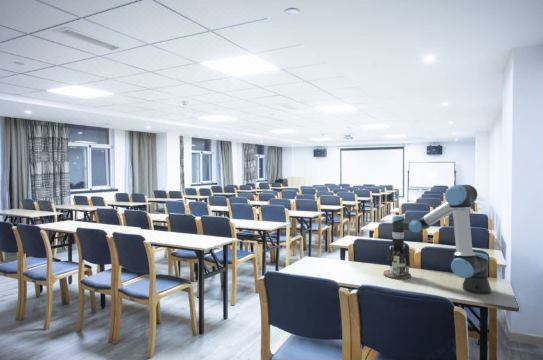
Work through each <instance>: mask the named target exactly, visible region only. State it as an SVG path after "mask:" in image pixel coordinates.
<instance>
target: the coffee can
mask: <svg viewBox="0 0 543 360" xmlns="http://www.w3.org/2000/svg"><path fill="white" fill-rule="evenodd" d="M392 255H394V259H393V262H394V263H393V271H390V273H391V274H394V275H397V267H400V275H405V274H406V273H405V272H406V268H405V255H406V253H400V252H399V251H398V252H397V253H396V254H393V253H392Z"/></svg>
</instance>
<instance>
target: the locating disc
mask: <svg viewBox="0 0 543 360" xmlns="http://www.w3.org/2000/svg"><path fill="white" fill-rule="evenodd" d="M405 273H406V274H405V275H400V267H397V275H394V274H391V273H390V269H387V270H384V271H383V273H382V274H383V276H384V277H386V278H389V279H393V280H400V281H401V280H402V281H403V280H408V279H409V280H410V279H411V277H412V274H411V273H410V266H409V265H406V268H405Z"/></svg>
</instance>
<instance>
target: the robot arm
mask: <svg viewBox="0 0 543 360" xmlns="http://www.w3.org/2000/svg"><path fill="white" fill-rule="evenodd" d="M478 196H479V195H478V190H477V189H476V187H474V186H473V185H470V184H455V185H452V186H451V185H450V187H448V188H447V189H446V190H445V193H444V198H445V202H444V203H442V204H440V205H438V206H437V207H436V208H434V209H432V210H431V211H429V212H428V213H426V214H425V215H424V216H422V217H420V218H417V219H405V217H404V216H403V215H399V214H398V215H396V214H395V215H393V216H392V224H391V225H392V227H391V228H392V233H391V234H392V236H391V237H392V238H391V240H392V241H391V242H392V245H389V246H388V253H387V257H386V261H388V266H389V270H390V271H393V263H394V262H393V259H394V255H392V253H393V254H396V253H397V252H400V253H406V255H405V269H406V266H407V261H408V260H409V253H408V248H407V245H406V244H405V239H404V238H405V232H412V233H419V232H421V231H424V230H425V231H426V230H428V229H429V228H430V227H432V225H434V224H436V223H437V222H439V221H440V220H442V219H444V218H445V217H447V216H448V215H451V214H452V216H453V217H452V218H453V230H454V243H455V252H454V253H453V260H452V261H451V263H450V267H451V268H450V269H451V271H452V272H453V274H454V275H456V277H458V278H461V279H464V280H463V283H462V289H463V291H465V292H469V293H471V292H472V294H476V295H477V294H478V295H489V294H491V293H492V288H491V285H490V282H489V256H488V254H486V253H484V252H478V251H476V252H475V251H474V250H473V243H472V241H473V240H472V230H471V220H470V210H471V208H472V204H473V203H474V202H475V201H476V200H477V198H478ZM488 293H489V294H488Z"/></svg>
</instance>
